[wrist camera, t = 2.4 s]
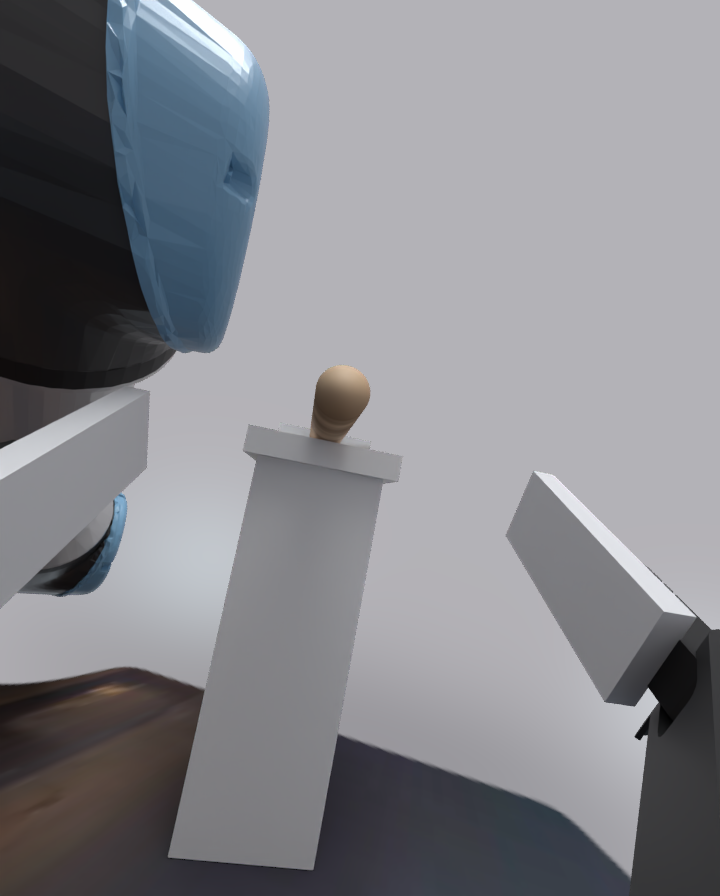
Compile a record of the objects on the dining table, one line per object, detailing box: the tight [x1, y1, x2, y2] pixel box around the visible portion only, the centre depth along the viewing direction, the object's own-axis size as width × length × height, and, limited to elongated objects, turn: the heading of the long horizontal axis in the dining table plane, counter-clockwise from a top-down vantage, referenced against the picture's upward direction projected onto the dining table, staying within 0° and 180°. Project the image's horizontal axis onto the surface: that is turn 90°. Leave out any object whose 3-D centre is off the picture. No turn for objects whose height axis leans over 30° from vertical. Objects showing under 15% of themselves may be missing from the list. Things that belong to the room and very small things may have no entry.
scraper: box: [278, 365, 371, 449], centre depth 34 cm, size 23×9×3 cm, turn 8°
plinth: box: [168, 425, 402, 870], centre depth 37 cm, size 14×12×30 cm
